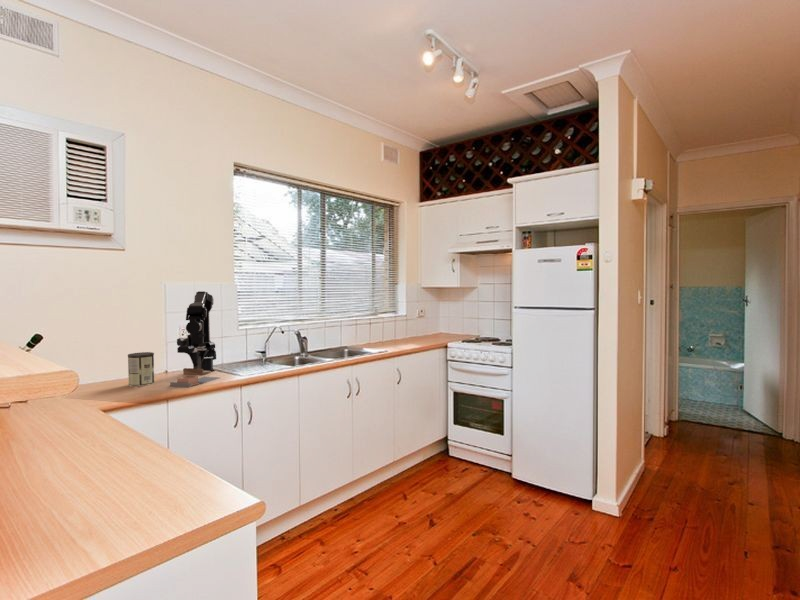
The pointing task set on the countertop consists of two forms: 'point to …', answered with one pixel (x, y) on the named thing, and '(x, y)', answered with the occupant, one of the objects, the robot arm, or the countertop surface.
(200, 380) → the gray ledged slab
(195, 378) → the tile
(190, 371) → the beige ledged slab
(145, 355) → the coffee can
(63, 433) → the countertop surface
